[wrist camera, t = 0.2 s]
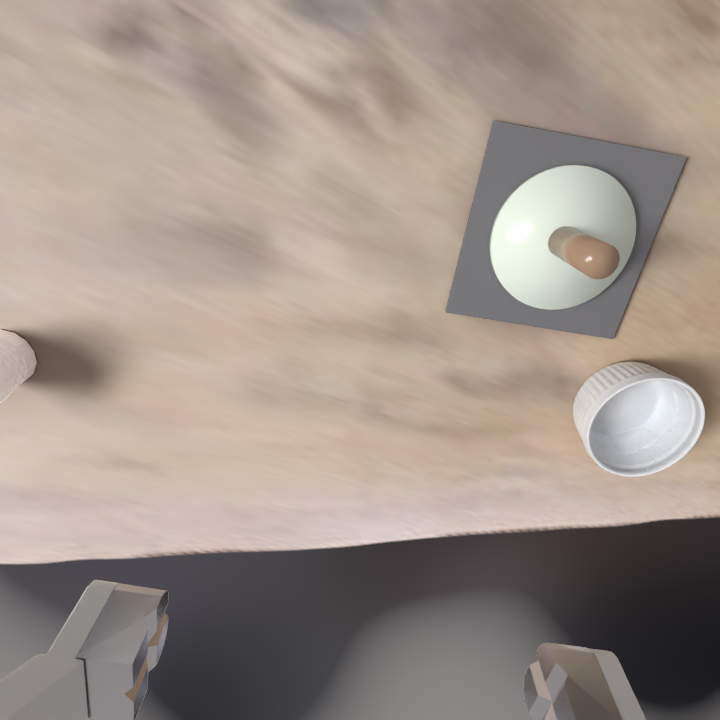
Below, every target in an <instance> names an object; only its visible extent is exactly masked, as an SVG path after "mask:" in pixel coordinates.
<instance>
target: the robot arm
mask: <svg viewBox="0 0 720 720" xmlns="http://www.w3.org/2000/svg"><path fill="white" fill-rule="evenodd" d="M167 605H168V591H163V590H157V589H151V588H144V587H138V586H132V585H126V584H120V583H114V582H107V581H100V580H94V581H93V582H92V583H91V584H90V585H89V586H88V587H87V588H86V590H85V591H84V593H83V595H82V596H81V598H80V600H79V601H78V603H77V604H76V606H75V608H74V609H73V611H72V613H71V614H70V616H69V618H68V619H67V621H66V623H65V624H64V626H63V628H62V630H61V631H60V633H59V634H58V636H57V638H56V639H55V641H54V643H53V644H52V646H51V647H50V649H49V651H48V652H47V654H46V655H42V654H38V655H36V656H35V657H33V658H32V659H30V660H29V661H28V662H26V663H25V664H23V665H22V666H20V667H19V668H18V669H16V670H15V671H13V672H12V673H10V674H9V675H7V676H6V677H5V678H3V679H2V680H0V720H88V719H97V720H135V719H136V716H137V713H138V711H139V708H140V706H141V703H142V701H143V698H144V696H145V693H146V690H147V688H148V672H149V671H150V670H151V669H153V668H154V667H155V666H156V665H157V662H158V660H159V657H160V654H161V652H162V648H163V644H164V641H165V637H166V633H167V627H168V616H167V614H166V613H165V609H166V607H167ZM536 654H537V657H538V661H536V662H535V663H533V664H531V665H530V666H529V668H528V670H527V672H526V674H525V680H524V695H525V702H526V706H527V710H528V714H529V715H530V716H531V717H532V718H533V719H534V720H646V719H645V716H644V714H643V712H642V710H641V708H640V706H639V703H638V701H637V699H636V697H635V695H634V693H633V691H632V688H631V686H630V684H629V682H628V680H627V678H626V676H625V673H624V671H623V669H622V667H621V665H620V663H619V661H618V659H617V657H616V656H615V655H614V654H613V653H612V652H609V651H604V650H595V649H587V648H586V647H578V646H569V645H561V644H553V643H543V644H541V645H540V647H539V648H538V650H537V652H536Z"/></svg>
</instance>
